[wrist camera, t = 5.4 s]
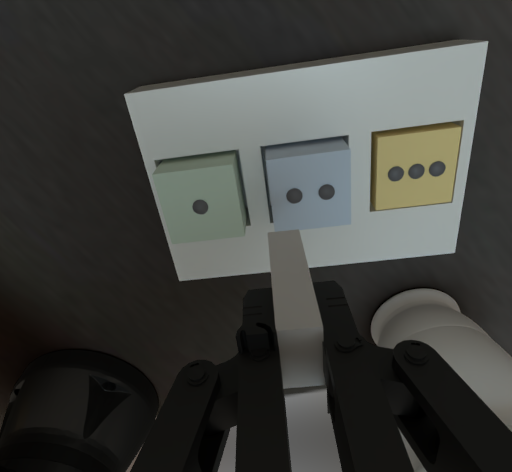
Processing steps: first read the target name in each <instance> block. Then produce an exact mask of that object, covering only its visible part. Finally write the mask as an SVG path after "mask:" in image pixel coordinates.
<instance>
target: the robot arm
mask: <svg viewBox="0 0 512 472" xmlns="http://www.w3.org/2000/svg"><path fill="white" fill-rule="evenodd" d="M268 245H269V257H270V269H271V280H272V288H264V289H254V290H248V292H247V293H246V295H245V297H244V298H243V325H242V326H241V327H240V328H239V329H238V330H237V334H236V340H237V346H238V351H239V352H238V353H237V355H236V356H235V357H233V358H232V359H230V360H228V361H226V362H224V363H221V364H219V365H214V364H213V363H212V362H211V361H207V360H196V361H193V362H191V363H189V364H187V365H186V366H185V367H183V368H182V370H181V371H180V372H179V374H178V375H177V378H176V380H175V382H174V384H173V386H172V388H171V390H170V392H169V394H168V396H167V398H166V400H165V402H164V404H163V406H162V408H161V410H160V412H159V414H158V416H157V418H156V415H157V411H158V397H157V394H156V391H155V389H154V387H153V386H152V384H151V383H150V382H149V380H148V379H147V378H146V377H145V376H144V375H143V374H142V373H140V372H139V371H138V370H136V369H135V368H134V367H132V366H130V365H129V364H127V363H125V362H123V361H121V360H119V359H117V358H114V357H111V356H109V355H105V354H102V353H98V352H93V351H85V350H62V351H56V352H52V353H48V354H45V355H43V356H41V357H39V358H37V359H35V360H34V361H33V362H31V363H30V364H29V365H28V367H27V368H26V369H25V371H24V372H23V374H22V375H21V376H20V378H19V379H18V381H17V382H16V384H15V386H14V388H13V390H12V392H11V396H10V400H9V405H8V408H7V411H6V414H5V417H4V420H3V424H2V428H1V431H0V472H126V470H127V469H128V467H129V466H130V464H131V463H132V461H133V460H134V458H135V457H136V455H137V453H138V452H139V450H140V448H141V447H142V449H141V451H140V452H139V455H138V457H137V459H136V461H135V463H134V465H133V467H132V469H131V471H130V472H217V471H218V468H219V465H220V461H221V458H222V455H223V451H224V448H225V445H226V441H227V438H228V435H229V431H230V428H231V427H233V426H236V425H237V438H236V467H235V468H236V469H235V472H292V470H291V460H290V450H289V439H288V429H287V418H286V408H285V398H284V388H296V387H307V386H319V385H325V382H326V386H327V403H328V405H327V406H328V413H330V415H331V419H332V424H333V429H334V434H335V439H336V443H337V448H338V453H339V458H340V463H341V468H342V472H414V469H413V467H412V464H411V461H410V459H409V456H408V453H407V450H406V448H405V445H404V442H403V440H402V437H401V434H400V432H399V430H400V431H401V433H402V434H403V436H404V437H405V439H406V440H407V442H408V443H409V445H410V447H411V448H412V450H413V451H414V453H415V454H416V456H417V457H418V459H419V460H420V462H421V464H422V465H423V467H424V468H425V470H426V471H427V472H512V432H511V430H510V429H509V428H508V427H507V426H506V425H505V424H504V423H503V422H502V421H501V420H500V419H499V418H498V417H497V416H496V414H495V413H494V412H493V411H492V410H491V409H490V408H489V407H488V406H487V405H486V404H485V403H484V402H483V401H482V399H481V398H480V397H479V396H478V395H477V394H476V393H475V392H474V391H473V390H472V389H471V388H470V387H469V386H468V385H467V383H466V382H465V381H464V380H463V379H462V378H461V377H460V376H459V375H458V374H457V373H456V372H455V371H454V370H453V369H452V367H451V366H450V365H449V364H448V363H447V362H446V361H445V360H444V359H443V358H442V357H441V356H440V355H439V354H438V353H437V351H436V350H435V349H433V348H432V347H431V346H429V345H428V344H426V343H423V342H421V341H417V340H404V341H401V342H400V343H398V344H397V345H396V346H395V347H394V349H390V348H384V347H379V346H375V345H373V344H370V343H368V342H367V341H365V340H364V338H363V337H362V336H360V335H359V333H358V331H357V328H356V325H355V323H354V320H353V317H352V314H351V312H350V309H349V306H348V303H347V300H346V298H345V295H344V292H343V289H342V287H340V286H339V285H338V284H337V283H336V282H335V281H326V282H316V283H312V280H311V276H310V272H309V268H308V263H307V259H306V255H305V251H304V247H303V243H302V239H301V235H300V231H299V229H297V230H287V231H278V232H268ZM155 418H156V420H155ZM398 428H399V429H398ZM142 445H143V446H142Z"/></svg>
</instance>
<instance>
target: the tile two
mask: <svg viewBox="0 0 512 472" xmlns="http://www.w3.org/2000/svg"><path fill="white" fill-rule="evenodd" d="M265 152H266V166H267V174H268V182H269V190H270V198H271V206H272V214H273V222H274V230H275V232H278V231H287V230H297V229H299V230H305V229H314V228H323V227H332V226H341V225H350V224H351V149H350V148H349V146H348V145H347V144H346V142H345V141H344V140H343V138H342V137H341V136H338V137H331V138H323V139H315V140H308V141H300V142H292V143H285V144H277V145H269V146H265Z"/></svg>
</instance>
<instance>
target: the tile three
mask: <svg viewBox="0 0 512 472" xmlns="http://www.w3.org/2000/svg"><path fill="white" fill-rule="evenodd" d="M461 128H462V127H461V126H459V125H457V124H455V123H453V122H444V123H436V124H428V125H421V126H413V127H405V128H398V129H390V130H382V131H375V132H371V174H370V202H371V203H372V205H373V207H374V208H375V210H383V209H392V208H401V207H409V206H418V205H427V204H436V203H445V202H451V199H452V192H453V185H454V178H455V171H456V164H457V157H458V150H459V143H460V136H461Z"/></svg>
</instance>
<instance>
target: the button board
mask: <svg viewBox="0 0 512 472" xmlns="http://www.w3.org/2000/svg"><path fill="white" fill-rule="evenodd" d="M487 46H488V41H479V40H461V39H458V40H451V41H444V42H437V43H431V44H424V45H417V46H410V47H403V48H397V49H390V50H383V51H376V52H369V53H363V54H356V55H349V56H342V57H335V58H329V59H322V60H315V61H308V62H301V63H295V64H288V65H281V66H274V67H267V68H261V69H254V70H247V71H240V72H233V73H227V74H220V75H213V76H206V77H199V78H193V79H186V80H179V81H172V82H165V83H159V84H152V85H145V86H140V87H138V88H136V89H134V90H132V91H130V92H127V93H125V94H124V96H125V100H126V103H127V106H128V110H129V113H130V117H131V120H132V123H133V127H134V130H135V133H136V137H137V140H138V144H139V147H140V150H141V154H142V157H143V160H144V164H145V167H146V171H147V174H148V177H149V181H150V184H151V187H152V191H153V194H154V198H155V201H156V204H157V208H158V211H159V214H160V218H161V221H162V225H163V228H164V231H165V235H166V238H167V241H168V245H169V248H170V252H171V255H172V258H173V262H174V265H175V268H176V272H177V275H178V279H179V281H186V280H196V279H205V278H215V277H225V276H234V275H244V274H254V273H264V272H271V269H270V257H269V245H268V232H275V230H274V222H273V214H272V206H271V198H270V190H269V182H268V174H267V166H266V152H265V146H269V145H277V144H285V143H292V142H300V141H308V140H315V139H323V138H331V137H338V136H341V137H342V138H343V140H344V141H345V142H346V144H347V145H348V146H349V148H350V149H351V224H350V225H341V226H332V227H323V228H314V229H305V230H299V231H300V235H301V239H302V243H303V247H304V251H305V255H306V259H307V263H308V268H312V267H322V266H332V265H342V264H351V263H361V262H371V261H380V260H390V259H400V258H410V257H419V256H429V255H439V254H449V253H455V248H456V242H457V236H458V229H459V223H460V217H461V211H462V204H463V198H464V192H465V185H466V179H467V173H468V166H469V160H470V154H471V147H472V141H473V135H474V128H475V122H476V116H477V110H478V103H479V97H480V91H481V84H482V78H483V72H484V65H485V59H486V53H487ZM444 122H453V123H455V124H457V125H459V126H461V127H462V128H461V136H460V143H459V150H458V157H457V164H456V171H455V178H454V185H453V192H452V199H451V202H445V203H436V204H427V205H418V206H409V207H401V208H392V209H383V210H375V208H374V207H373V205H372V203H371V202H370V174H371V132H375V131H382V130H390V129H398V128H405V127H413V126H421V125H428V124H436V123H444ZM231 150H236V155H237V161H238V167H239V173H240V179H241V185H242V191H243V197H244V203H245V209H246V215H247V218H246V230H245V236H242V237H233V238H224V239H215V240H206V241H197V242H188V243H179V244H172V242H171V239H170V235H169V232H168V229H167V225H166V222H165V218H164V215H163V211H162V208H161V204H160V201H159V198H158V194H157V191H156V187H155V184H154V180H153V177H152V174H153V172H154V171H155V170H156V168H157V167H158V166H159V164H160V163H161V162H162V160H163V159H169V158H177V157H185V156H192V155H200V154H208V153H215V152H223V151H231Z"/></svg>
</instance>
